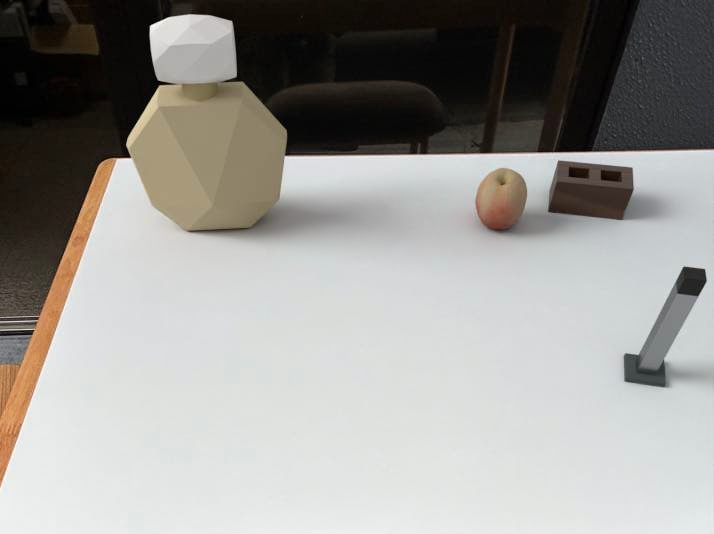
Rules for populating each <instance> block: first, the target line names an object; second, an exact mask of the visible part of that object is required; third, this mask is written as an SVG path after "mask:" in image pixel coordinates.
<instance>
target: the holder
mask: <svg viewBox="0 0 714 534" xmlns="http://www.w3.org/2000/svg"><path fill="white" fill-rule="evenodd" d="M634 190H635V186H634V168H633V167H632V166H622V165H612V164H601V163H591V162H590V163H589V162H579V161H571V160H570V161H569V160H561V159H560V160H559V159H558V160H557V163H556V166H555V170H554V173H553V177H552V180H551V183H550V188H549V191H548V192H549V193H548V195H549V196H548V205H547V212H548V213H555V214H565V215H573V216H574V215H575V216H584V217H593V218H601V219H602V218H603V219H611V220H620V221H621V220H623V218H624V216H625V213H626V210H627V208H628V205H629V203H630V200H631V198H632V197H633V193H634Z"/></svg>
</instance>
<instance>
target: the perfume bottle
mask: <svg viewBox="0 0 714 534" xmlns="http://www.w3.org/2000/svg"><path fill="white" fill-rule="evenodd" d="M234 30H235V29H234V24H233V21H232V20H228V19H226V18H221V17H218V16H214V15H209V14H190V13H189V14H183V15H176V16H169V17H166V18H164V19H161V20H160V21H157V22H155V23H153V24H151V25H149V44H150V53H151V59H152V65H153V69H154V73H155V77H156V79H157V81H160V82H164V83H170V84H163V85H161V84H160V85H158V88H157V89H156V91H155V92H154V94H153V96H152V97H151V99H150V101H149V102H148V104H147V105H146V107H145V109H144V111H142V114H141V115H140V117H139V119H138V120H137V122H136V124H135V125H134V127H133V128H132V130H131V132H130V133H129V135H128V137H127V140H126V144H125V146H126V148H127V150H128V153H129V155H130V158H131V161H132V163H133V165H134V168H135V169H136V172H137V174H138V175H137V176H138V177H139V179H140V182H141V184H142V187H143V190H144V192H145V193H146V196H147V198H148V200H149V203H150V205H151V206H152V207H153V208H154V209H155V210H157V211H158V212H160V214H163V215H164V216H165V217H166V218H168V219H169V220H171V222H173V223H175V224H176V225H177V226H179V227H180V228H181V229H183V230H184V231H206V230H207V231H208V230H226V229H228V230H229V229H249V228H253V226H254V225H255V224H256V223H258V221H259V220H260V219H261V218H262V217H264V215H265V214H267V213H268V211H270V210H271V208H273V207H274V206H275V205H276V204H277V202H278V201H280V199H281V190H282V183H283V174H284V167H285V159H286V149H287V141H288V131H287V129H286V128H285V127H284V126H283V125H282V123H280V121H279V120H278V118H276V117H275V115H273V113H272V112H271V111H270V110H269V109H268V108H267V107H266V106H265V105H264V104H263V103H262V101H261V100H260V99H259V98H258V97H257V96H256V95H255V93H253V90H251V89H250V88H249V87H248V85H246V84H245V82H244V81H229V80H232V79H234V78H237V75H238V74H237V73H238V67H237V52H236V51H237V50H236V39H235V31H234ZM226 81H228V82H226Z"/></svg>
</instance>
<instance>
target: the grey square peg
mask: <svg viewBox="0 0 714 534" xmlns="http://www.w3.org/2000/svg"><path fill="white" fill-rule="evenodd" d="M706 271H707V270H706V268H701V267H693V266H684V265H683V266H682V268H681V270H680V272H679V274H678V276H677V278H676V280H675V283H674V284H673V286H672V288H671V290H670V292H669V294H668V296H667V298H666V300H665V302H664V304H663V306H662V308H661V310H660V312H659V314H658V316H657V318H656V319H655V320H654V321H655V322H654V324H653V325H652V327H651V329H650V332H649V333H648V336H647V338H646V339H645V341H644V343H643V345H642V346H641V349H640V350H639V353H638V354H637V355H638V357H637V359H636V373H641V374H648V375H656V373H657V371H658V369H659V367H660V366H661V364H662V362H663V360H664V361H665V358H666V356H667V355H668V353H669V351H670V350H671V348H672V345H674V342H675V341H676V339H677V336H678V335H679V332H681V330H682V327H683V326H684V324H685V322H686V320H687V319H688V316H689V315H690V313H691V312H692V309H693V308H694V306H695V304H696V302H697V301H698V299H699V296H700V295H701V293H702V291H703V290H704V287H705V285H706V284H707V282H708V278H707V272H706Z"/></svg>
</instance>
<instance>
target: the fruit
mask: <svg viewBox="0 0 714 534" xmlns="http://www.w3.org/2000/svg"><path fill="white" fill-rule="evenodd" d="M527 198H528V187H527V182H526V180H525V178H524V177H523V176H522V174H520V173H519V172H518V171H516V170H514V169H511V168H509V167H499V168H496V169H494V170H492V171H490V172H489V173H488V174H487V175H485V177H484V178H483V179H482V180H481V182H480V183H479V185H478V187H477V191H476V196H475V200H474V201H475V202H474V203H475V210H476V213H477V216H478V218H479V220H480V222H481V223H482V225H483V226H485V227H486V228H488V229H490V230H504V229H507V228H510V227H512V226H513V225H515V224H516V223H517V222H518V221H519V219H520V218H521V217H522V215H523V213H524V211H525V209H526V203H527Z"/></svg>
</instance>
